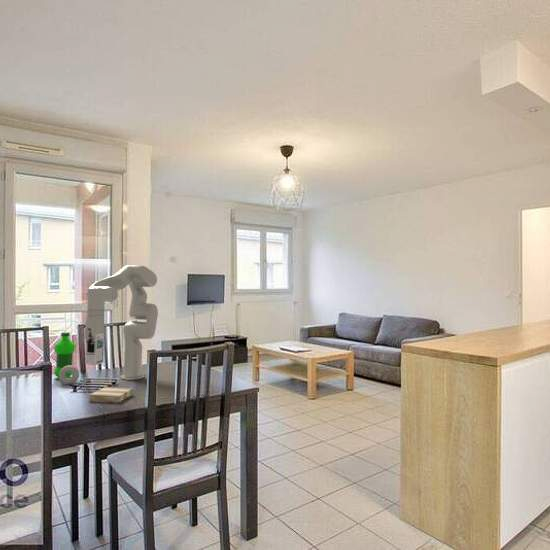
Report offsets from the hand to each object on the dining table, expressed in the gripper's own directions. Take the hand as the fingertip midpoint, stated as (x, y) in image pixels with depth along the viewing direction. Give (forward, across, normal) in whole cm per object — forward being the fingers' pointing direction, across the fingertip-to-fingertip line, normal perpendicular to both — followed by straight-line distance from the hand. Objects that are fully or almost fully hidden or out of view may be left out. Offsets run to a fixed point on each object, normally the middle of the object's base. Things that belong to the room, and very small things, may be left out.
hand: (94, 350), depth 199 cm
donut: (+22, -17, -24) cm, 36 cm away
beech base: (+21, +1, +10) cm, 24 cm away
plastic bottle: (+22, -29, -35) cm, 51 cm away
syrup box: (+6, 0, 0) cm, 6 cm away
